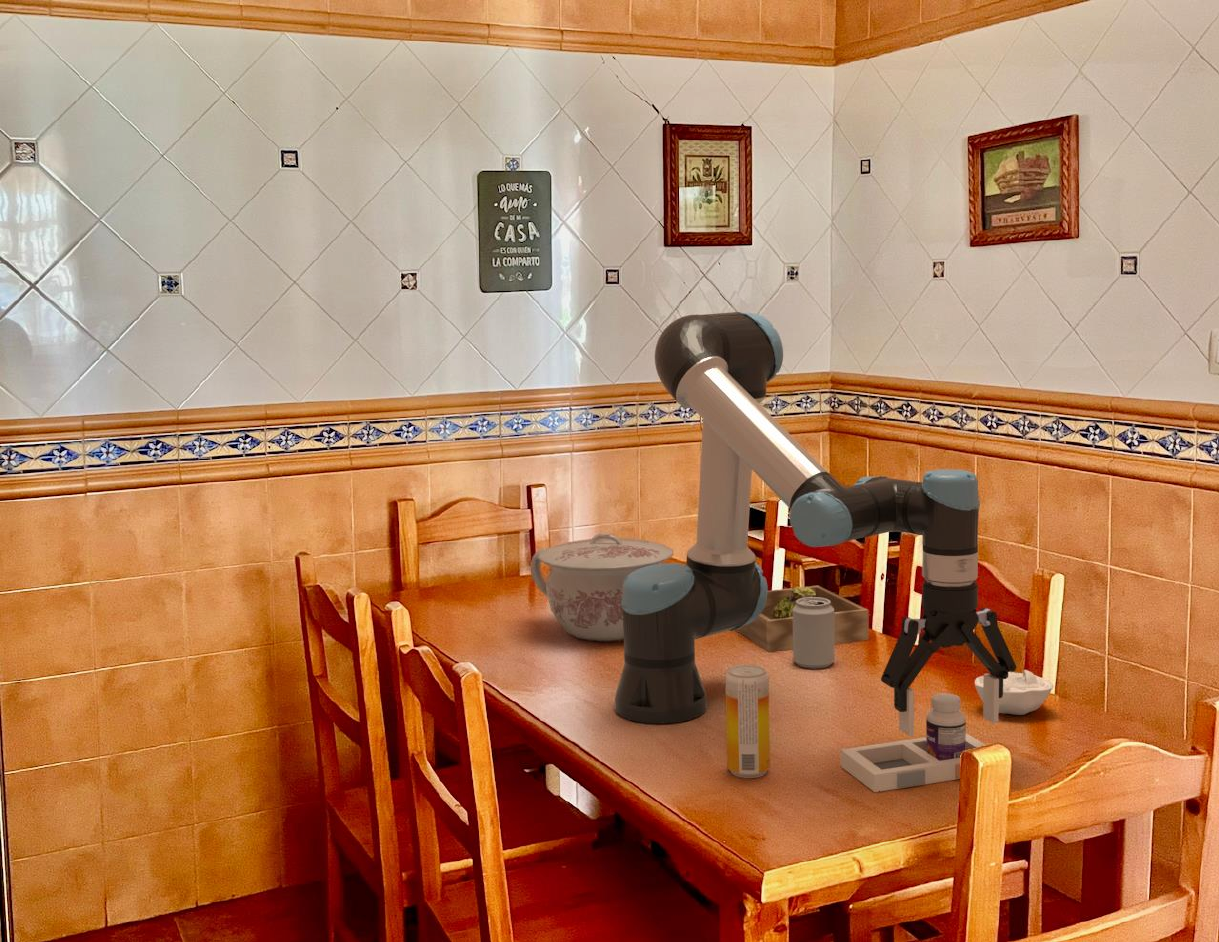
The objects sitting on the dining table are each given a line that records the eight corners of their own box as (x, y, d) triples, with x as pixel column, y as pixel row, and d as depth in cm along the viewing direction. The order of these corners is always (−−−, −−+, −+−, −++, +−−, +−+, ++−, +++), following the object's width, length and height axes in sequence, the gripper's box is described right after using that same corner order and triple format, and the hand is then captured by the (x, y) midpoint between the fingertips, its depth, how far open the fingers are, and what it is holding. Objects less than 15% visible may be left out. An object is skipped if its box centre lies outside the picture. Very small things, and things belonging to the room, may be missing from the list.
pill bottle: (923, 756, 180) (923, 691, 178) (961, 756, 179) (962, 691, 178) (929, 770, 174) (929, 703, 173) (968, 770, 174) (968, 703, 172)
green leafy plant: (842, 647, 237) (842, 598, 235) (759, 644, 240) (758, 595, 239) (847, 623, 253) (846, 577, 252) (769, 621, 257) (768, 575, 256)
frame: (768, 652, 234) (768, 621, 234) (725, 623, 255) (725, 595, 255) (868, 640, 240) (868, 609, 239) (818, 613, 261) (818, 585, 260)
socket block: (876, 793, 168) (876, 775, 167) (840, 766, 178) (840, 749, 177) (1004, 773, 173) (1004, 756, 173) (963, 747, 183) (963, 731, 183)
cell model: (970, 700, 204) (970, 660, 203) (1046, 702, 202) (1046, 662, 201) (978, 721, 194) (978, 680, 193) (1058, 723, 192) (1058, 681, 191)
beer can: (766, 762, 180) (764, 662, 178) (773, 778, 174) (771, 675, 172) (724, 764, 180) (722, 664, 178) (730, 780, 174) (728, 677, 172)
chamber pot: (698, 641, 244) (696, 537, 241) (567, 660, 234) (563, 552, 231) (642, 609, 269) (640, 515, 266) (522, 625, 259) (518, 528, 256)
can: (834, 670, 222) (833, 605, 220) (791, 669, 223) (791, 604, 222) (835, 658, 229) (834, 595, 227) (794, 657, 231) (793, 594, 229)
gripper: (883, 595, 166) (883, 746, 169) (1043, 577, 173) (1040, 723, 176) (856, 583, 173) (857, 728, 176) (1011, 566, 180) (1009, 707, 183)
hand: (948, 726), depth 176 cm, fingers open, 13 cm apart
